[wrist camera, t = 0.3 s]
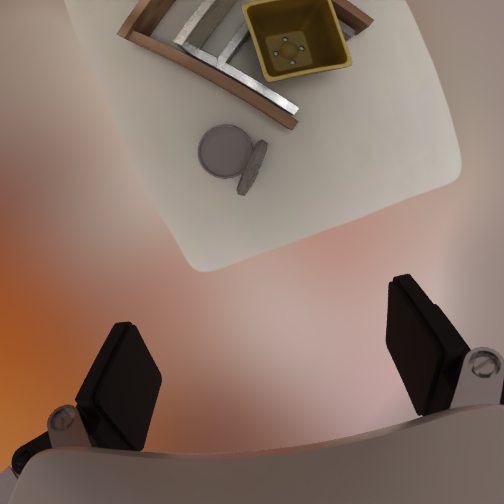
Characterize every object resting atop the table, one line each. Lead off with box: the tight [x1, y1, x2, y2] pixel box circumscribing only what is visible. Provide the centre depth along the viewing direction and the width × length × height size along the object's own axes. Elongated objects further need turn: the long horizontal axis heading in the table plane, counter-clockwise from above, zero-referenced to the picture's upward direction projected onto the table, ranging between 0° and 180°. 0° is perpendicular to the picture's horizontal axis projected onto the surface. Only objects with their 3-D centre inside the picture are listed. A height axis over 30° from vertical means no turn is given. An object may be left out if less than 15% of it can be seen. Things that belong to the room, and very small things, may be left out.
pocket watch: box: [198, 125, 268, 196], centre depth 33 cm, size 8×8×10 cm
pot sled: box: [173, 0, 356, 115], centre depth 27 cm, size 14×15×7 cm
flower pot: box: [242, 0, 352, 82], centre depth 27 cm, size 9×9×9 cm
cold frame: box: [117, 0, 374, 130], centre depth 27 cm, size 17×23×6 cm
